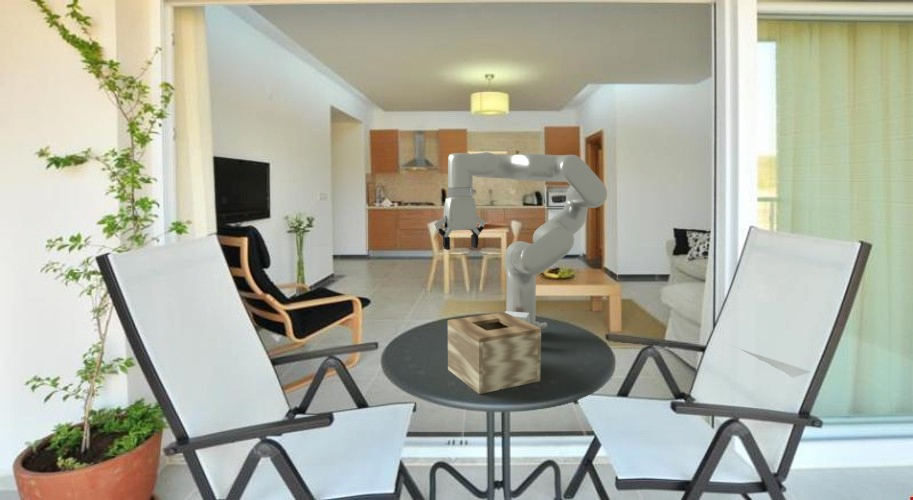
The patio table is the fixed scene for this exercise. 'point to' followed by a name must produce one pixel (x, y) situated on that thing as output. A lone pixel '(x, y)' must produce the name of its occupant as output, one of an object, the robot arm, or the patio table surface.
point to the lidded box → (494, 351)
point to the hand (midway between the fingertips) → (460, 248)
